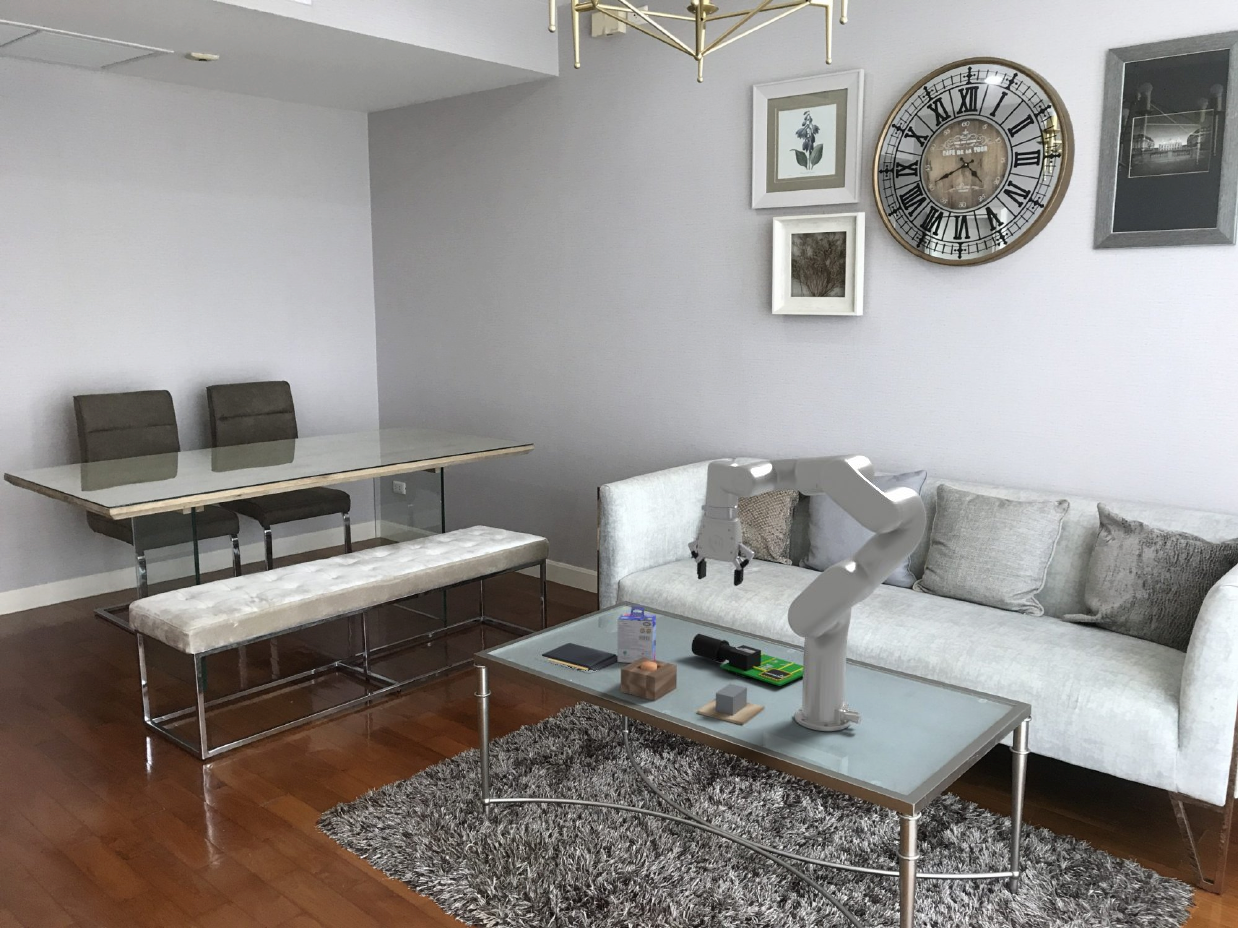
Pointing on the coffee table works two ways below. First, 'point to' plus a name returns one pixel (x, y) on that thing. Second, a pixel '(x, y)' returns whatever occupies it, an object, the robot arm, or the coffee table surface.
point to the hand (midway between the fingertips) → (719, 581)
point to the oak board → (738, 718)
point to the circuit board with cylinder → (746, 660)
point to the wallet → (581, 657)
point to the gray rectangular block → (731, 699)
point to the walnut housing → (649, 679)
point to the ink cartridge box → (636, 636)
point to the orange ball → (648, 666)
